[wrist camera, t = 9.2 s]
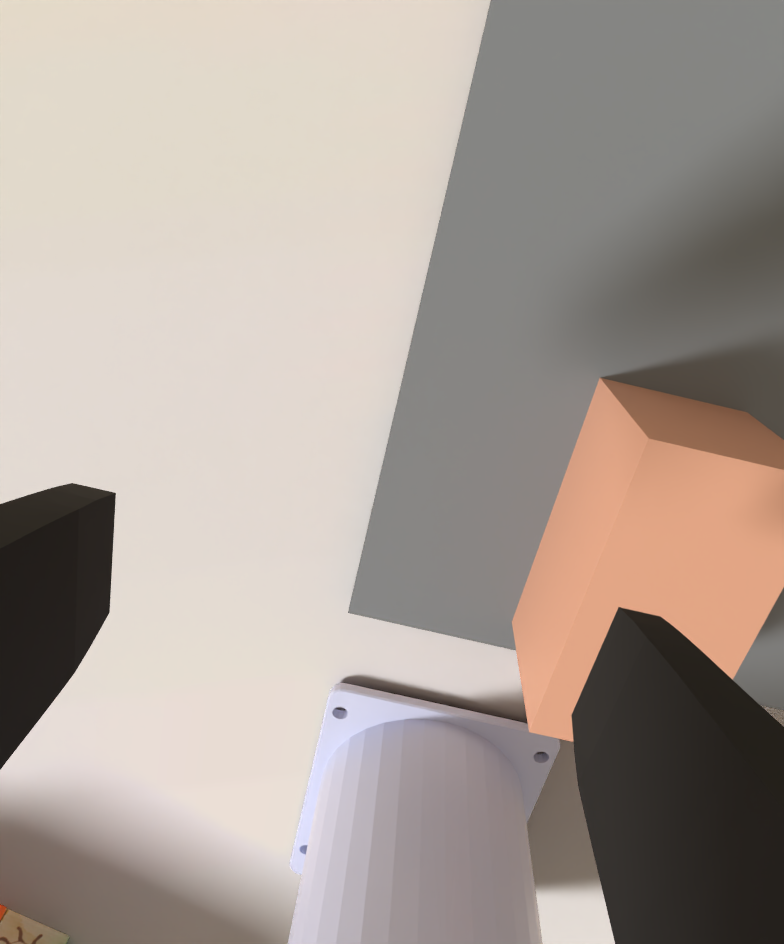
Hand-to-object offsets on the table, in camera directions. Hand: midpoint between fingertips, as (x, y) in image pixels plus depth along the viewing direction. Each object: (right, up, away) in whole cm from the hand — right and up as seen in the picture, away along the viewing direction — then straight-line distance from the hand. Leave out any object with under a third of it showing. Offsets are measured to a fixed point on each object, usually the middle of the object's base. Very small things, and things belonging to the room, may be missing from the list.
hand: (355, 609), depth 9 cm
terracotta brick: (+7, 0, +10) cm, 12 cm away
